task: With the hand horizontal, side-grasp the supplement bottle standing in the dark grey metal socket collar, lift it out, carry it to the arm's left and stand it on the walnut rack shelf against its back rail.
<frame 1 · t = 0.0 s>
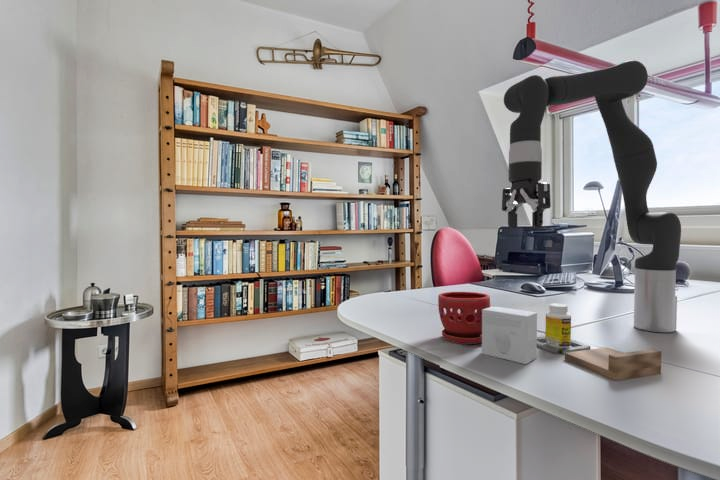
hand: (524, 227, 93), 29 cm above the table, tool pointing down, fingers open, 8 cm apart
plant pot: (463, 340, 99), on the table
skincare box: (508, 356, 86), on the table
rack: (610, 365, 79), on the table
socket collar: (557, 345, 92), on the table
supplement bottle: (557, 346, 92), resting in socket collar
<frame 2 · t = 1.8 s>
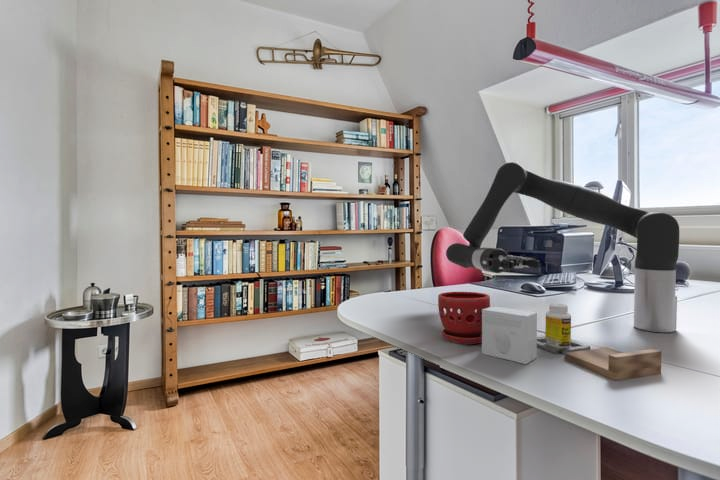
hand: (526, 264, 102), 19 cm above the table, tool horizontal, fingers open, 8 cm apart
nothing on the table moved.
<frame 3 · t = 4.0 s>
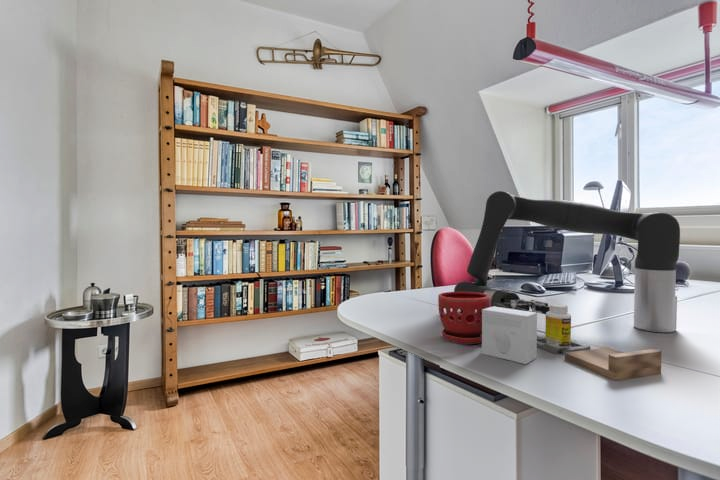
hand: (540, 313, 98), 7 cm above the table, tool horizontal, fingers open, 8 cm apart
nothing on the table moved.
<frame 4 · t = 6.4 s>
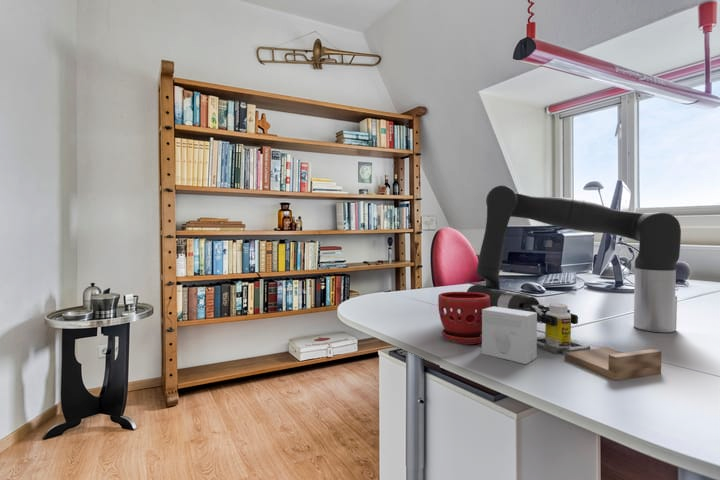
hand: (566, 320, 90), 7 cm above the table, tool horizontal, fingers closed on supplement bottle, 5 cm apart
supplement bottle: (557, 346, 92), resting in socket collar, touching gripper
everything else where it was.
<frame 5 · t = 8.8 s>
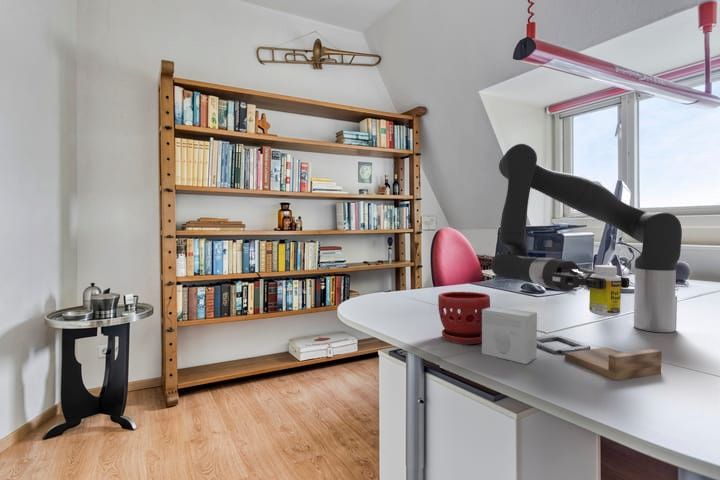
hand: (616, 283, 77), 18 cm above the table, tool horizontal, fingers closed on supplement bottle, 5 cm apart
supplement bottle: (604, 314, 80), point 11 cm above the table, touching gripper
everything else where it was.
when the fingers open (9 cm above the table, at t = 11.4 s): supplement bottle stays where it is, resting on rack.
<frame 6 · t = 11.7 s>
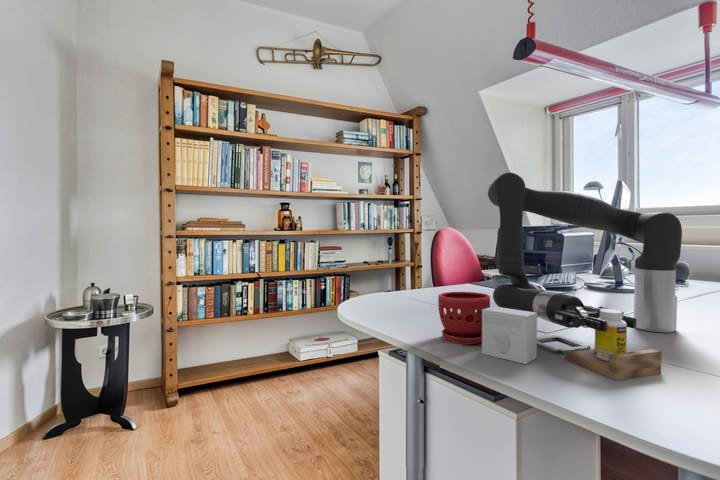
hand: (620, 324, 77), 9 cm above the table, tool horizontal, fingers open, 7 cm apart
supplement bottle: (610, 359, 79), point 1 cm above the table, touching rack
everything else where it was.
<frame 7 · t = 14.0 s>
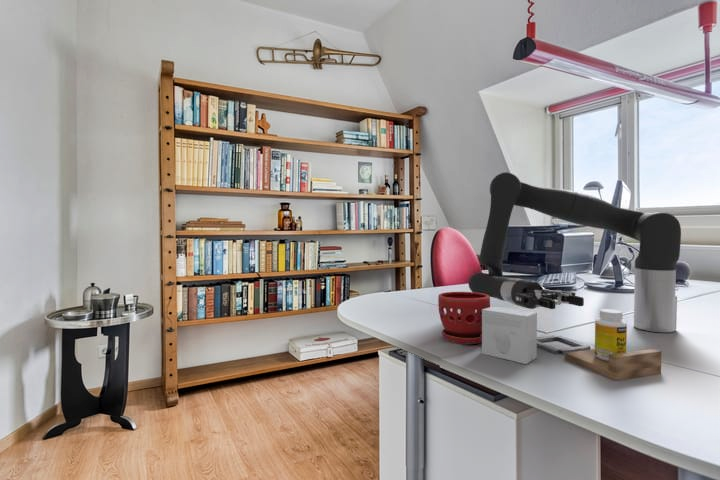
hand: (568, 303, 90), 11 cm above the table, tool horizontal, fingers open, 8 cm apart
nothing on the table moved.
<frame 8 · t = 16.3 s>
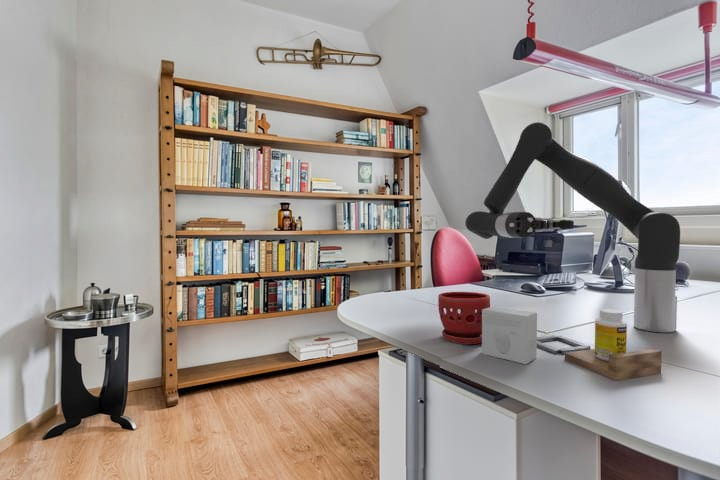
hand: (559, 224, 94), 30 cm above the table, tool horizontal, fingers open, 8 cm apart
nothing on the table moved.
at the end: supplement bottle inside the target area on the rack (0.1 cm from its centre), point 1.3 cm above the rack's base; supplement bottle tilted 0°; the gripper is holding nothing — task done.
